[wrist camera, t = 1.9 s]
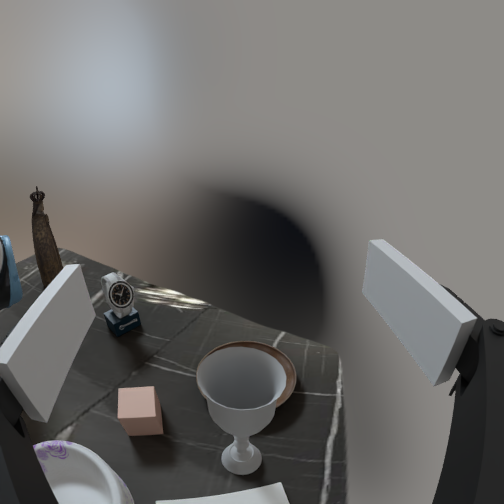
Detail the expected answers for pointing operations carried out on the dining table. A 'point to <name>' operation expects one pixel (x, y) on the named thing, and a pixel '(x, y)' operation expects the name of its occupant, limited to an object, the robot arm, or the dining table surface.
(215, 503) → the board
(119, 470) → the dining table surface
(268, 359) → the chalice
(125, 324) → the watch
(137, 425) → the terracotta block
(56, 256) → the statue
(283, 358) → the saucer
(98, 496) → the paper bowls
